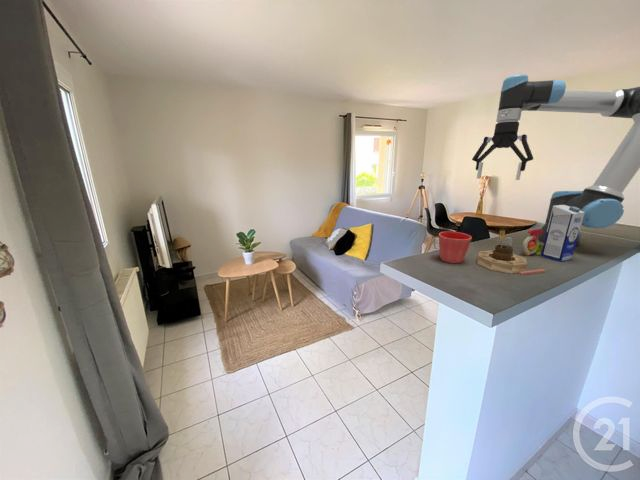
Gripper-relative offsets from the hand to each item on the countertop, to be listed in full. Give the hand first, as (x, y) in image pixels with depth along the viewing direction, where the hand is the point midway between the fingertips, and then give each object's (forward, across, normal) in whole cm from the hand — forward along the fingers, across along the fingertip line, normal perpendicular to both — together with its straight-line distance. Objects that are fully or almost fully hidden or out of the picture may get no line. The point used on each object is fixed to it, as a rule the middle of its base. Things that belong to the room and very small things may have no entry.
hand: (497, 179), depth 107 cm
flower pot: (+29, -4, -27) cm, 39 cm away
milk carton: (+29, +23, +4) cm, 37 cm away
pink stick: (+29, +20, -21) cm, 41 cm away
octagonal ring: (+29, +10, -20) cm, 36 cm away
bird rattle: (+29, +16, +2) cm, 33 cm away
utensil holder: (+29, +10, -20) cm, 37 cm away
